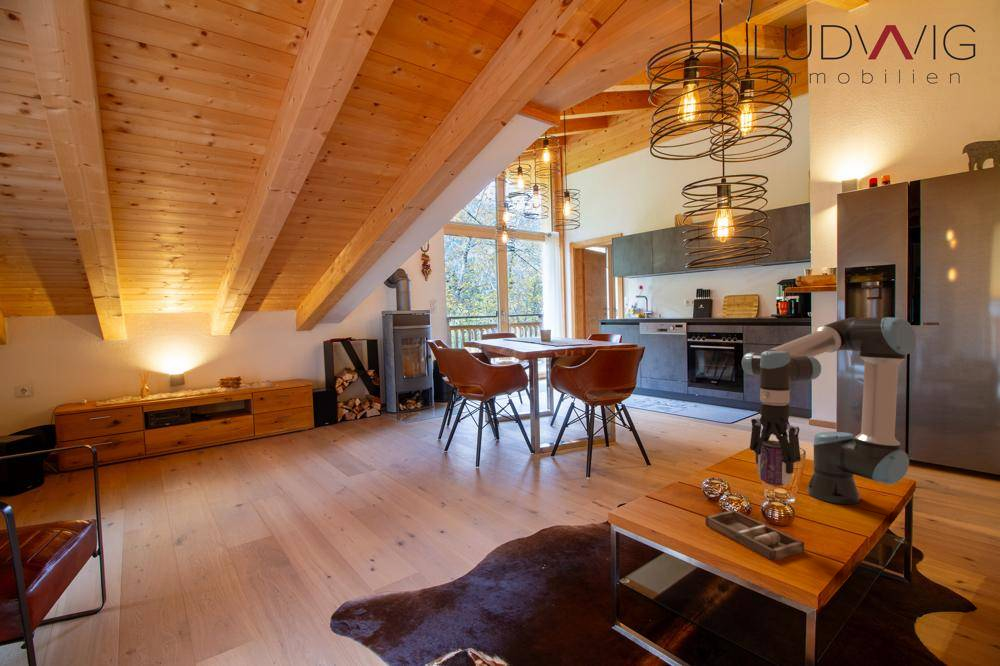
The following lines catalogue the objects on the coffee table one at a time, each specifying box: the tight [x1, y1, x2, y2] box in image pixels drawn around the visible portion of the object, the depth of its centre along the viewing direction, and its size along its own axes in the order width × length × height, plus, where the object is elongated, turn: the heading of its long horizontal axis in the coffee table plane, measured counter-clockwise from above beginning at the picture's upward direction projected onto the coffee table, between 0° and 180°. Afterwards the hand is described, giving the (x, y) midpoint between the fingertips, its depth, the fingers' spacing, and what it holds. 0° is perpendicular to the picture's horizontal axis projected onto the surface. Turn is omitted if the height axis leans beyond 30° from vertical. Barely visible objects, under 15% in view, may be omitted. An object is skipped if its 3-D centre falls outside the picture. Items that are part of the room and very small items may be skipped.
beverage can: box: [759, 440, 785, 487], centre depth 136 cm, size 7×7×12 cm
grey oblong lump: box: [754, 532, 781, 546], centre depth 131 cm, size 7×3×3 cm, turn 112°
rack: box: [705, 509, 805, 562], centre depth 135 cm, size 12×23×4 cm, turn 22°
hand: (773, 479), depth 137 cm, fingers closed on beverage can, 7 cm apart
